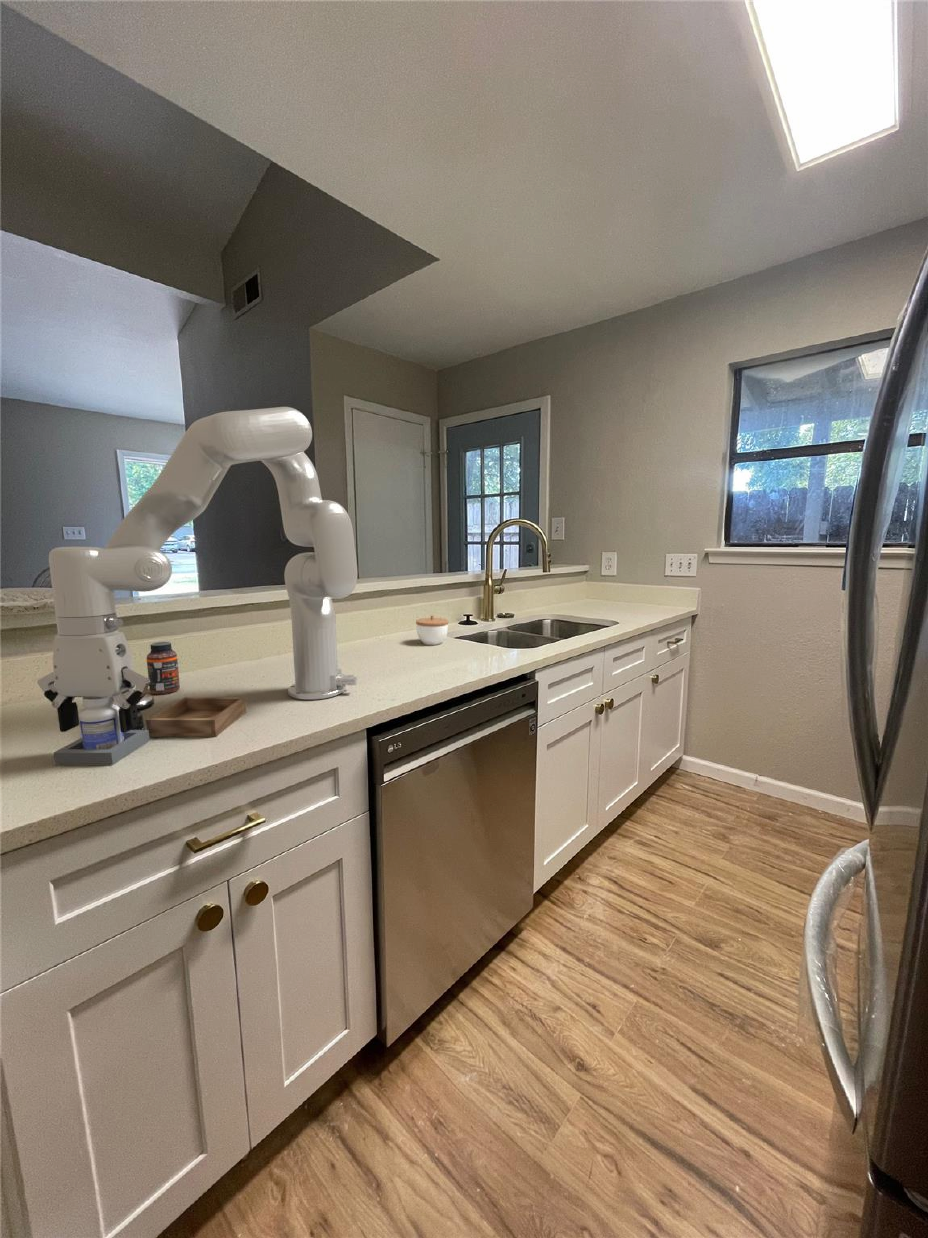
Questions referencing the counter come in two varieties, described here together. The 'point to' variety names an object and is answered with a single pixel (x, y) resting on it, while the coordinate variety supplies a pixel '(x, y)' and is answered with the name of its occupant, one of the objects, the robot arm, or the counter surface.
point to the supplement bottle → (162, 669)
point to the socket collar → (101, 751)
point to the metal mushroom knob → (140, 709)
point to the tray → (196, 717)
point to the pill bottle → (100, 723)
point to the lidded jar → (432, 630)
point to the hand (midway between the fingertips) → (99, 729)
